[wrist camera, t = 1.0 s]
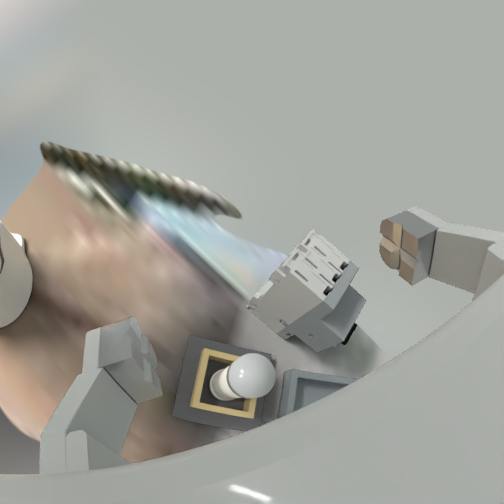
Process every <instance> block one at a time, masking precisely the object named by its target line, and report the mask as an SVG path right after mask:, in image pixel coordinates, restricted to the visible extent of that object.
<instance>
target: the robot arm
mask: <svg viewBox="0 0 504 504" xmlns="http://www.w3.org/2000/svg"><path fill="white" fill-rule="evenodd" d="M380 233H381V234H382V235H383V238H382V240H381V242H380V254H381V257H382V259H383V261H384V262H385V264H386V265H387V266H389V267H390V268H392V269H396V270H398V272H399V276H401V277H402V278H403V279H404V280H406V281H407V282H408V283H409V284H411V285H414V284H416V283H418V282H419V281H421V280H423V279H425V278H427V277H428V276H429V278H432V279H435V280H438V281H441V282H444V283H446V284H449V285H452V286H455V287H458V288H460V289H463V290H466V291H468V292H471V293H474V297H473V299H472V302H471V303H470V304H469V305H467V306H466V307H465V308H464V309H463V310H461V311H460V312H459V313H457V314H456V315H455V316H454V317H452V318H451V319H450V320H449V321H447V322H446V323H444V324H443V325H442V326H440V327H439V328H438V329H436V330H435V331H433V332H432V333H431V334H429V335H428V336H426V337H425V338H424V339H422V340H421V341H419V342H418V343H417V344H415V345H414V346H412V347H410V348H409V349H407V350H406V351H404V352H403V353H401V354H400V355H398V356H397V357H395V358H394V359H392V360H390V361H389V362H387V363H385V364H384V365H382V366H381V367H379V368H377V369H376V370H374V371H372V372H370V373H369V374H367V375H365V376H364V377H362V378H360V379H358V380H356V381H355V382H353V383H351V384H349V385H347V386H345V387H344V388H342V389H340V390H338V391H336V392H334V393H332V394H330V395H328V396H326V397H324V398H322V399H320V400H318V401H316V402H314V403H312V404H310V405H308V406H306V407H303V408H301V409H299V410H297V411H295V412H292V413H290V414H288V415H286V416H283V417H281V418H279V419H276V420H274V421H271V422H269V423H266V424H264V425H261V426H259V427H256V428H254V429H251V430H248V431H246V432H243V433H240V434H237V435H235V436H232V437H229V438H226V439H223V440H220V441H217V442H214V443H211V444H208V445H204V446H201V447H198V448H194V449H191V450H187V451H184V452H180V453H176V454H172V455H168V456H164V457H160V458H156V459H151V460H147V461H142V462H137V463H131V462H129V461H127V460H126V459H124V458H123V457H121V456H120V454H121V451H122V448H123V445H124V442H125V439H126V437H127V434H128V431H129V428H130V425H131V423H132V420H133V417H134V414H135V412H136V409H137V406H138V405H137V404H139V403H142V402H145V401H148V400H151V399H154V398H157V397H160V396H163V393H162V387H161V381H160V377H159V376H158V374H157V373H156V372H155V370H156V369H157V367H158V363H157V358H156V355H155V352H154V349H153V347H152V345H151V343H150V341H149V339H148V338H147V336H144V335H142V334H141V331H140V325H139V324H138V322H137V321H136V319H135V318H133V317H129V318H126V319H123V320H120V321H117V322H114V323H111V324H108V325H105V326H102V327H99V328H97V329H94V330H91V331H88V332H87V334H86V338H85V347H84V357H83V369H82V374H79V375H78V376H77V377H76V379H75V380H74V382H73V383H72V385H71V386H70V388H69V390H68V391H67V393H66V394H65V396H64V398H63V399H62V401H61V402H60V404H59V406H58V407H57V409H56V410H55V412H54V414H53V415H52V417H51V419H50V420H49V422H48V424H47V425H46V427H45V429H44V430H43V432H42V434H41V438H40V474H29V475H28V474H26V475H25V474H24V475H20V474H19V475H18V474H16V475H15V474H0V504H504V233H503V232H498V231H493V230H488V229H483V228H477V227H472V226H466V225H461V224H454V223H449V224H447V223H445V222H444V221H442V220H440V219H439V218H437V217H435V216H433V215H432V214H430V213H428V212H426V211H424V210H422V209H421V208H419V207H412V208H410V209H407V210H405V211H403V212H402V213H399V214H397V215H395V216H392V217H390V218H387V219H385V220H383V221H382V223H381V225H380ZM32 282H33V277H32V269H31V266H30V263H29V261H28V259H27V257H26V255H25V247H24V239H23V238H22V236H21V235H19V234H13V233H11V232H10V231H9V230H8V229H7V227H6V226H5V225H4V223H3V222H2V221H0V328H1V327H4V326H7V325H9V324H10V323H12V322H13V321H14V320H15V319H17V318H18V316H19V315H20V314H21V313H22V311H23V310H24V308H25V307H26V305H27V303H28V300H29V297H30V294H31V290H32Z"/></svg>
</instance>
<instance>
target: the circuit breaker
mask: <svg viewBox="0 0 504 504" xmlns="http://www.w3.org/2000/svg"><path fill="white" fill-rule="evenodd" d="M358 269H359V268H358V267H357V266H356V265H354V264H353V263H352V262H351V261H350V260H349V259H348V258H347V257H345V256H344V255H343V254H342V253H341V252H339V250H337V249H336V248H335V247H334V246H333V245H332V244H330V243H329V242H328V241H327V240H326V239H325V238H324V237H322V236H321V235H319V236H318V235H317V234H315V233H314V229H313V230H312V231H311V232H310V233H308V234H307V235H306V236H305V237H304V238H303V239H302V241H300V243H299V244H298V245H297V246H296V247H295V248H294V249H293V251H292V252H291V253H290V254H289V255H288V256H287V258H286V259H285V260H284V261H283V262H282V263H281V265H280V266H279V267H278V268H277V269H276V270H275V271H274V273H273V274H272V275H271V276H270V278H269V280H268V281H267V282H266V283H265V284H264V285H263V286H262V288H261V289H260V290H259V291H258V292H257V293H256V294H255V296H254V297H253V298H252V299H251V300H250V302H249V303H248V304H247V305H246V306H245V307H246V308H248V307H250V308H251V309H252V310H253V311H252V313H253V314H254V315H256V316H257V317H258V318H259V319H260V320H261V321H263V322H264V323H265V324H266V325H267V326H268V327H270V328H271V329H272V330H273V331H274V332H276V333H277V334H278V335H279V336H280V337H282V338H283V339H284V340H286V339H288V338H289V337H290V336H293V335H296V336H297V337H298V338H299V339H301V340H302V341H303V342H304V343H305V344H307V345H308V346H309V347H310V348H312V349H313V350H314V351H315V352H320V351H322V350H325V349H327V348H329V347H332V346H333V347H337V346H338V344H339V343H342V344H343V345H345V344H346V343H347V342H348V341H349V339H350V337H351V335H352V333H353V331H354V330H355V328H356V327H357V324H355V323H354V322H355V320H356V318H357V317H358V315H359V313H360V311H361V309H362V308H363V306H364V304H365V302H366V299H365V298H363V297H362V296H361V295H360V294H359V293H358V292H357V291H356V290H355V289H353V288H352V287H351V286H350V283H351V281H352V280H353V278H354V276H355V274H356V273H357V271H358Z"/></svg>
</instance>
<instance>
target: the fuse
mask: <svg viewBox="0 0 504 504" xmlns="http://www.w3.org/2000/svg"><path fill="white" fill-rule="evenodd" d="M275 380H276V373H275V369H274V366H273V364H272V363H271V362H270V360H268V359H267V358H266V357H265V356H263V355H260V354H256V353H249V354H245V355H243V356H241V357H239V358H238V359H236V360H235V361H233V362H232V363H231V365H230V366H228V367H227V368H225V369H221V370H219V371H217V372H215V373H214V374H213V375H212V376H211V377H210V379H209V382H208V389H209V391H210V393H211V395H212V396H213V397H214V398H216V399H218V400H221V401H230V400H233V399H236V398H247V399H250V398H258V397H262V396H264V395H266V394H267V393H268V392H270V390H271V389H272V388H273V386H274V384H275Z"/></svg>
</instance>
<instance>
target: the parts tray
mask: <svg viewBox="0 0 504 504" xmlns="http://www.w3.org/2000/svg"><path fill="white" fill-rule="evenodd" d="M356 380H358V379H355V378H346V377H339V376H331V375H324V374H318V373H311V372H305V371H299V370H293V369H292V370H289V371H286V372H284V378H283V385H282V392H281V399H280V405H279V412H278V418H277V419H279V418H281V417H283V416H286V415H288V414H290V413H292V412H295V411H297V410H299V409H301V408H303V407H306V406H308V405H310V404H312V403H314V402H316V401H318V400H320V399H322V398H324V397H326V396H328V395H330V394H332V393H334V392H336V391H338V390H340V389H342V388H344V387H345V386H347V385H349V384H351V383H353V382H355V381H356Z"/></svg>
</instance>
